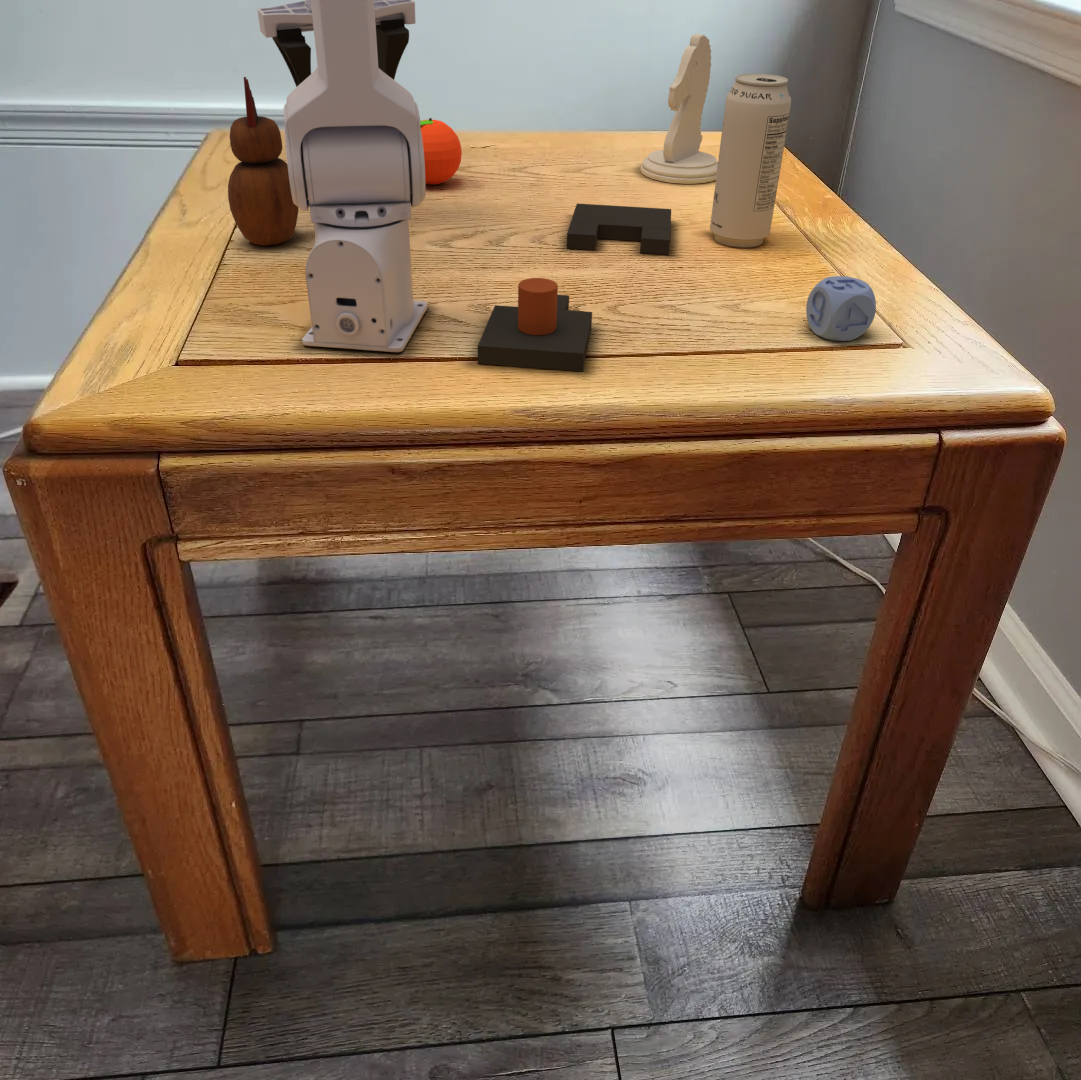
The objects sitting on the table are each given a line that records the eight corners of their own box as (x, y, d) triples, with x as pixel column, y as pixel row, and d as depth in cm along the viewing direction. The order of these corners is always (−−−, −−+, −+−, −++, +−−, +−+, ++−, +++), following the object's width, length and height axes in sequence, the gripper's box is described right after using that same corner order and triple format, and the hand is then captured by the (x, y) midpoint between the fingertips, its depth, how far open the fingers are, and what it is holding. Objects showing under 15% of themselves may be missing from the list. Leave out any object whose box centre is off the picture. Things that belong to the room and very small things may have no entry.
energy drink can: (724, 226, 100) (746, 69, 92) (778, 238, 98) (805, 77, 89) (698, 240, 96) (717, 78, 88) (752, 253, 94) (778, 87, 85)
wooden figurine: (284, 254, 91) (260, 82, 82) (227, 248, 92) (198, 77, 83) (311, 231, 96) (292, 68, 87) (258, 226, 97) (233, 64, 88)
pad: (582, 371, 72) (586, 308, 69) (477, 364, 72) (476, 300, 69) (594, 313, 81) (597, 255, 78) (501, 307, 81) (500, 249, 78)
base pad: (668, 255, 93) (670, 239, 92) (566, 248, 94) (567, 233, 93) (670, 223, 101) (671, 208, 100) (576, 217, 102) (576, 203, 101)
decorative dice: (870, 338, 78) (881, 291, 75) (826, 343, 77) (836, 296, 74) (844, 319, 81) (854, 273, 78) (801, 324, 80) (810, 277, 77)
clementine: (418, 197, 106) (414, 129, 102) (383, 183, 110) (378, 117, 106) (474, 185, 111) (473, 119, 106) (439, 172, 115) (436, 108, 111)
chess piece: (625, 173, 116) (635, 35, 107) (665, 157, 122) (678, 26, 114) (697, 188, 111) (713, 45, 102) (734, 171, 118) (753, 35, 109)
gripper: (393, -65, 90) (401, 86, 100) (240, -56, 85) (263, 102, 95) (421, -47, 86) (426, 109, 95) (261, -36, 81) (283, 127, 90)
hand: (346, 107), depth 95 cm, fingers open, 7 cm apart
